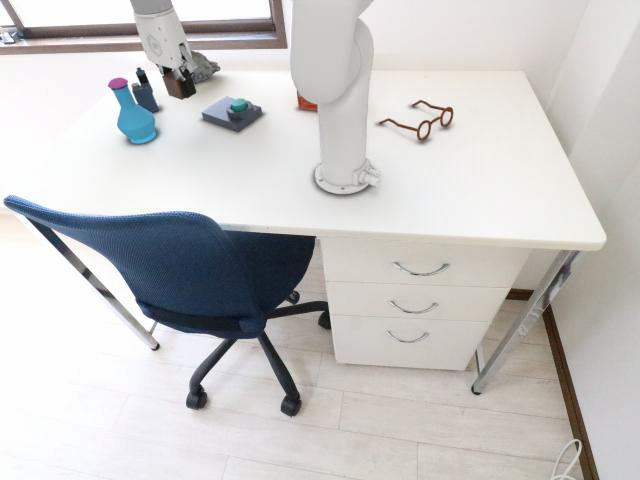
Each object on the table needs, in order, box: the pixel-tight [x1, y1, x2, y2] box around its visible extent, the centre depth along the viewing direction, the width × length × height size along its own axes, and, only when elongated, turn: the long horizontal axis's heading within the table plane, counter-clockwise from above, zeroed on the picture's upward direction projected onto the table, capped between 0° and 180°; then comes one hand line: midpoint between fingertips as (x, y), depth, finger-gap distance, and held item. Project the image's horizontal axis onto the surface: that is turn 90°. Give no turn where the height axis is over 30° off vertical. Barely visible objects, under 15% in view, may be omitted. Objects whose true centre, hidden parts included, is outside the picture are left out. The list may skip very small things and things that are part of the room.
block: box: [161, 69, 197, 101], centre depth 84 cm, size 4×4×4 cm
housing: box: [200, 95, 263, 133], centre depth 101 cm, size 13×10×4 cm
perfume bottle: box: [107, 77, 157, 145], centre depth 93 cm, size 9×9×15 cm
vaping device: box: [130, 66, 160, 114], centre depth 103 cm, size 3×5×12 cm, turn 112°
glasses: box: [379, 99, 454, 142], centre depth 93 cm, size 13×13×5 cm
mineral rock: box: [173, 49, 222, 84], centre depth 115 cm, size 13×11×10 cm
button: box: [231, 97, 247, 111], centre depth 98 cm, size 4×4×2 cm
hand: (182, 92), depth 85 cm, fingers closed on block, 4 cm apart
